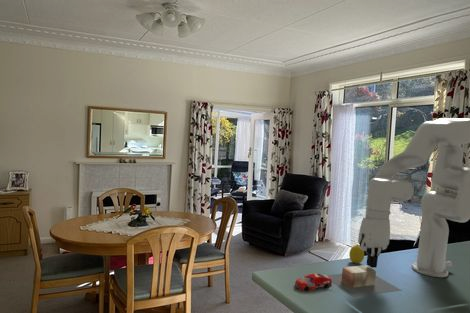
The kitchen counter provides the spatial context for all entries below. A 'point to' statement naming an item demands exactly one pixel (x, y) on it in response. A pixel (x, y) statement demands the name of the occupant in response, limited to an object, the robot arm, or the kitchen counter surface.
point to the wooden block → (358, 276)
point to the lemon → (356, 254)
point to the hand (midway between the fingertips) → (371, 266)
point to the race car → (313, 282)
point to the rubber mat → (379, 286)
